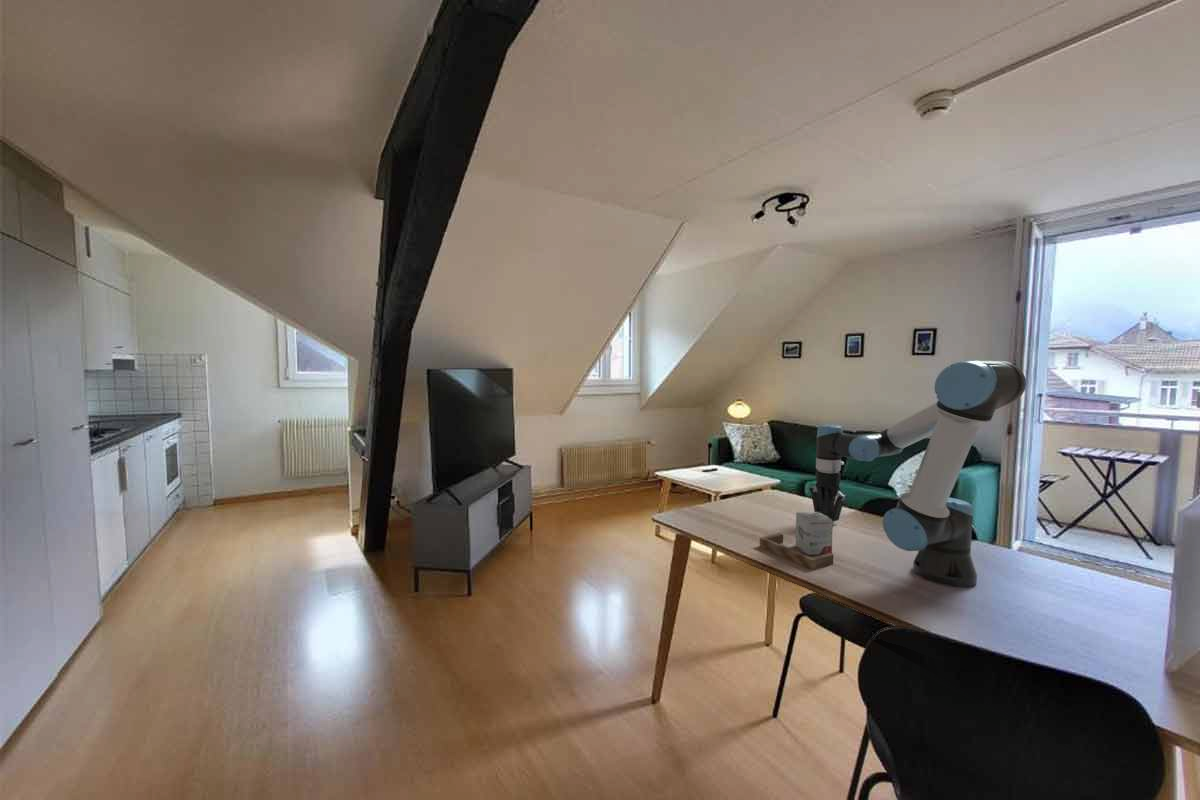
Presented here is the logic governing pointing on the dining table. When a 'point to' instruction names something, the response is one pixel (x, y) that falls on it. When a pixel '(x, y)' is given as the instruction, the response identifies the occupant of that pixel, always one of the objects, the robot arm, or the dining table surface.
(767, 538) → the fence
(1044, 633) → the dining table surface
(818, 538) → the ink box
